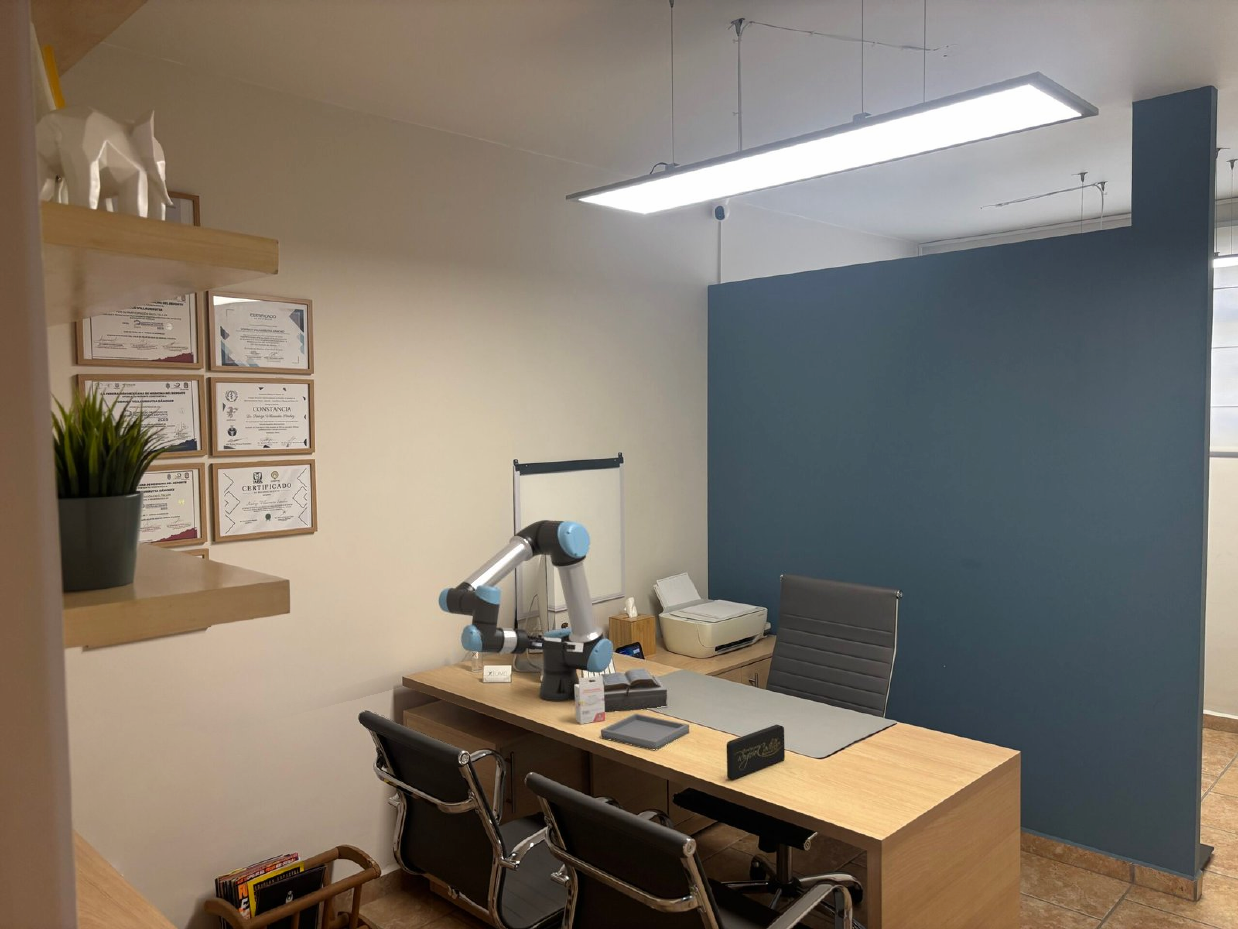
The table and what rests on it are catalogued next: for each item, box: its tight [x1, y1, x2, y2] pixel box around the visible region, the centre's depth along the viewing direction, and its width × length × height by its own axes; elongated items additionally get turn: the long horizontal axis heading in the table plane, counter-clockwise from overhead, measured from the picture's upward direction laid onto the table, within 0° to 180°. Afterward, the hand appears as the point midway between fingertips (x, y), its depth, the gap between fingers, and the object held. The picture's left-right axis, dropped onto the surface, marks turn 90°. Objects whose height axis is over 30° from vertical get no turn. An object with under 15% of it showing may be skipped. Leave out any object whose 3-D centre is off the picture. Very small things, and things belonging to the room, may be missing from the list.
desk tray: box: [600, 713, 690, 751], centre depth 269 cm, size 18×20×2 cm
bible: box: [588, 667, 668, 713], centre depth 303 cm, size 23×27×10 cm
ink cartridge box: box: [574, 674, 606, 725], centre depth 285 cm, size 9×5×15 cm, turn 112°
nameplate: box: [726, 724, 786, 781], centre depth 240 cm, size 21×2×10 cm, turn 129°
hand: (571, 645), depth 281 cm, fingers open, 13 cm apart
